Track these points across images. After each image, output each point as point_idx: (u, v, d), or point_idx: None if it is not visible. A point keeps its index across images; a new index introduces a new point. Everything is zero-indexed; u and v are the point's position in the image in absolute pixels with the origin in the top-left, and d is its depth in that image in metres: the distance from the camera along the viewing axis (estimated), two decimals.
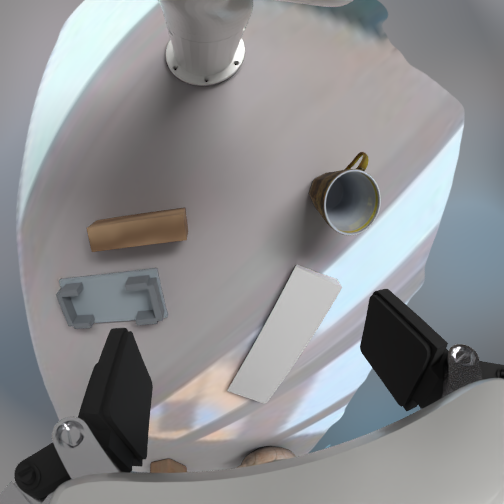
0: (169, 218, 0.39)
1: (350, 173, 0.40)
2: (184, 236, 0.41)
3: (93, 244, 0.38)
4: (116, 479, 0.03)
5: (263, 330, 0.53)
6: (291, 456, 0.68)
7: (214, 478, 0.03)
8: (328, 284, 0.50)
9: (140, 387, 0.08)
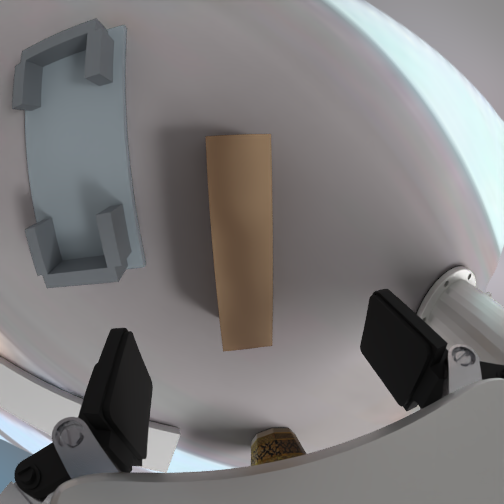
0: (266, 326, 0.21)
1: None
2: (230, 348, 0.21)
3: (226, 144, 0.16)
4: (116, 479, 0.03)
5: (75, 404, 0.26)
6: None
7: (214, 478, 0.03)
8: (166, 462, 0.29)
9: (140, 387, 0.08)
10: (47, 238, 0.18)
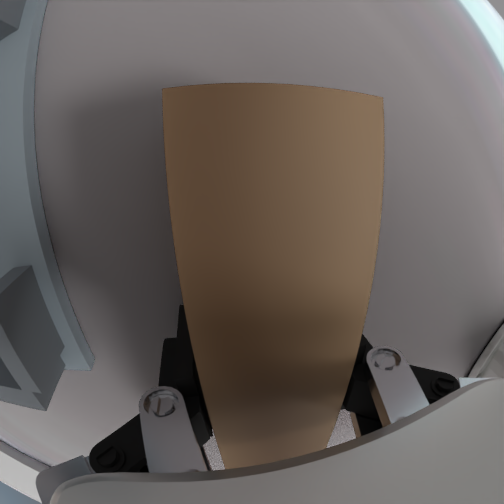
0: None
1: None
2: None
3: (241, 116, 0.04)
4: (116, 479, 0.03)
5: None
6: None
7: (214, 478, 0.03)
8: None
9: None
10: None
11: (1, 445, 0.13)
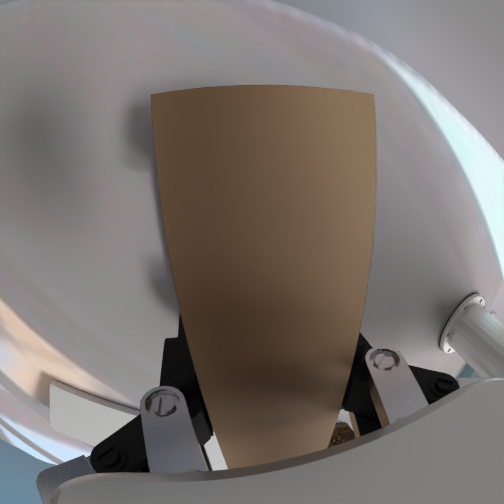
0: None
1: None
2: None
3: (229, 119, 0.04)
4: (116, 479, 0.03)
5: None
6: None
7: (214, 479, 0.03)
8: None
9: None
10: None
11: (133, 411, 0.31)
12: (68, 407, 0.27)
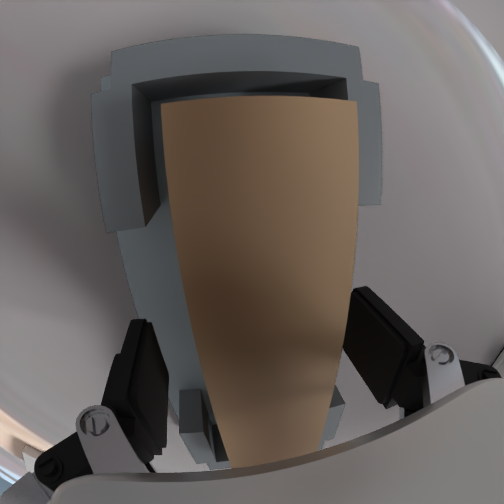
0: None
1: None
2: None
3: (228, 125, 0.05)
4: (116, 479, 0.03)
5: None
6: None
7: (214, 479, 0.03)
8: None
9: (159, 376, 0.09)
10: (206, 422, 0.13)
11: None
12: None
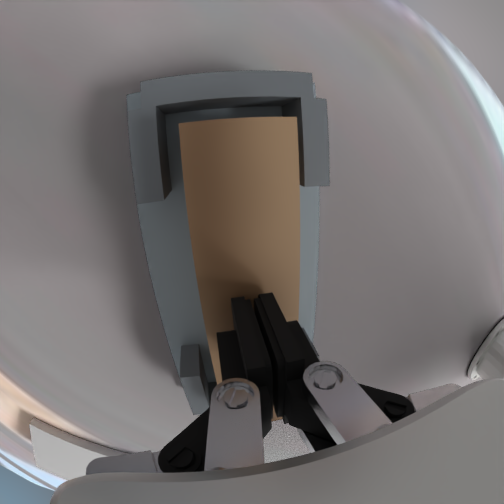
0: None
1: None
2: None
3: (217, 136, 0.08)
4: (116, 479, 0.03)
5: None
6: None
7: (214, 479, 0.03)
8: None
9: None
10: (203, 374, 0.16)
11: None
12: (53, 449, 0.19)
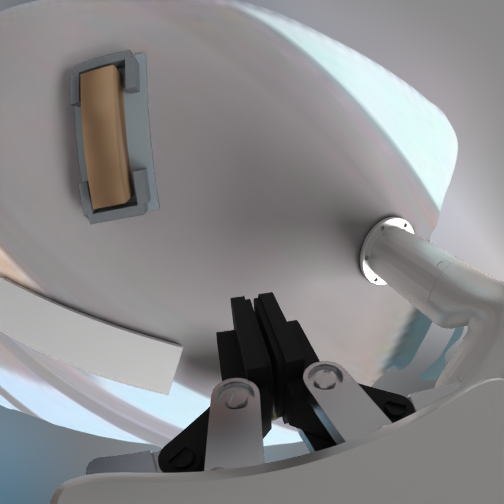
0: (118, 185, 0.26)
1: None
2: (97, 206, 0.27)
3: (90, 75, 0.21)
4: (116, 479, 0.03)
5: (95, 322, 0.36)
6: None
7: (214, 478, 0.03)
8: (169, 382, 0.41)
9: None
10: None
11: (60, 304, 0.35)
12: (10, 301, 0.31)
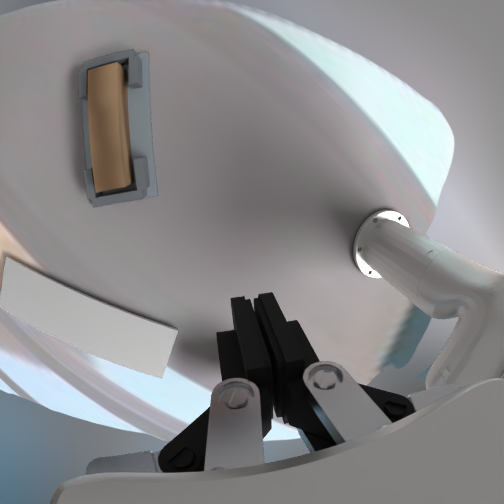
0: (119, 170, 0.29)
1: None
2: (99, 189, 0.29)
3: (96, 71, 0.23)
4: (116, 479, 0.03)
5: (94, 302, 0.38)
6: None
7: (214, 478, 0.03)
8: (163, 365, 0.42)
9: None
10: None
11: (62, 284, 0.37)
12: (15, 279, 0.33)
